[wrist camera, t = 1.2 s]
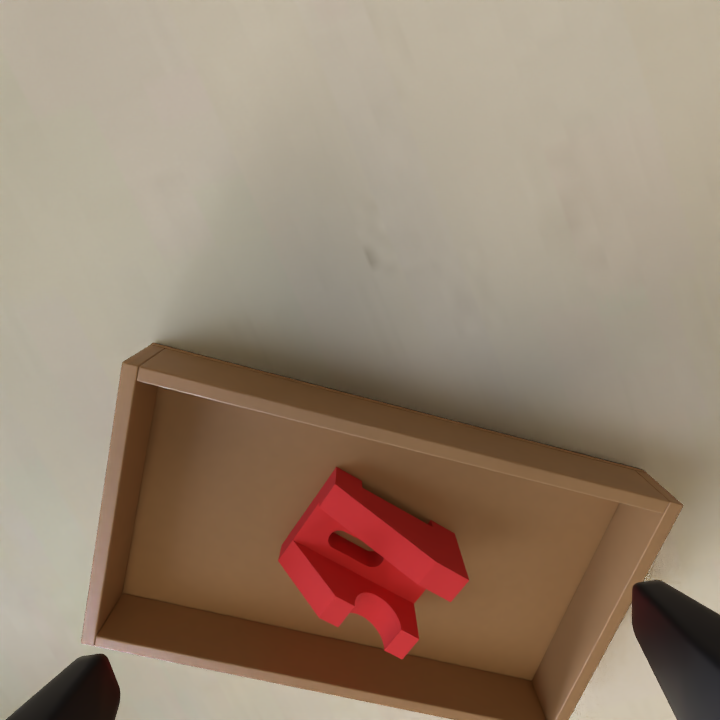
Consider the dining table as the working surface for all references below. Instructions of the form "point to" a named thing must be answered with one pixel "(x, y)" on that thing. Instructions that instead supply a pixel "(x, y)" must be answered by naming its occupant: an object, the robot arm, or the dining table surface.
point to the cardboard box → (358, 542)
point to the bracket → (370, 561)
